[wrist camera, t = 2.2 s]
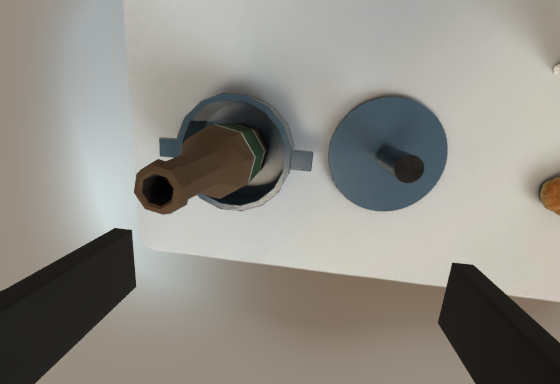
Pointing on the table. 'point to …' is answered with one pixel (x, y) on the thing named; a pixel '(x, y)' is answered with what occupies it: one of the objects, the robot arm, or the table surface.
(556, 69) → the shaker set
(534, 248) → the table surface
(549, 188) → the pastry
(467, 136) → the table surface
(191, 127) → the pot
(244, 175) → the beer bottle
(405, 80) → the table surface
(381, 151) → the lid
